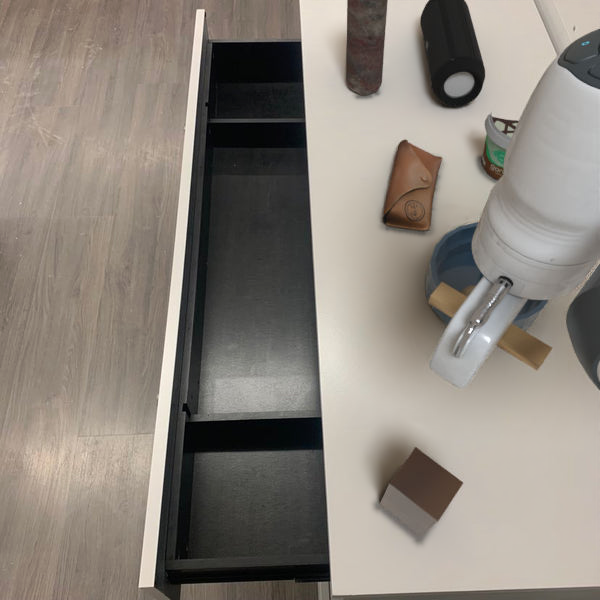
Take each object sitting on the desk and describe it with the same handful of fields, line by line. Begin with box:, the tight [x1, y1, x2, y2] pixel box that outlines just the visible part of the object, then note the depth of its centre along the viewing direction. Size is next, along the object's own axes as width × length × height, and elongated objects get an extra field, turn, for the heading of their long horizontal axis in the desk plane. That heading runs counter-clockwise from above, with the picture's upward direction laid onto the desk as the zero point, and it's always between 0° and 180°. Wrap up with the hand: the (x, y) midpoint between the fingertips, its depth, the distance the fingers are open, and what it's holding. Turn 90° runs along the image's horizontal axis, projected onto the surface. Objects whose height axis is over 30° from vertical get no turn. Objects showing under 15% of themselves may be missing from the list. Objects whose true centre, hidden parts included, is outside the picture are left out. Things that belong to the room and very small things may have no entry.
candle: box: [345, 0, 388, 96], centre depth 100 cm, size 8×7×20 cm
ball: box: [461, 285, 475, 297], centre depth 78 cm, size 4×4×4 cm
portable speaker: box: [419, 0, 486, 108], centre depth 106 cm, size 26×10×10 cm, turn 179°
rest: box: [379, 446, 464, 538], centre depth 61 cm, size 6×5×12 cm
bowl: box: [424, 221, 550, 331], centre depth 79 cm, size 17×17×6 cm
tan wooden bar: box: [427, 282, 553, 371], centre depth 52 cm, size 12×2×1 cm, turn 51°
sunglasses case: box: [382, 139, 443, 232], centre depth 92 cm, size 18×7×7 cm
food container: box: [481, 110, 519, 181], centre depth 90 cm, size 12×6×10 cm, turn 70°
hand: (487, 326), depth 52 cm, fingers closed on tan wooden bar, 2 cm apart
